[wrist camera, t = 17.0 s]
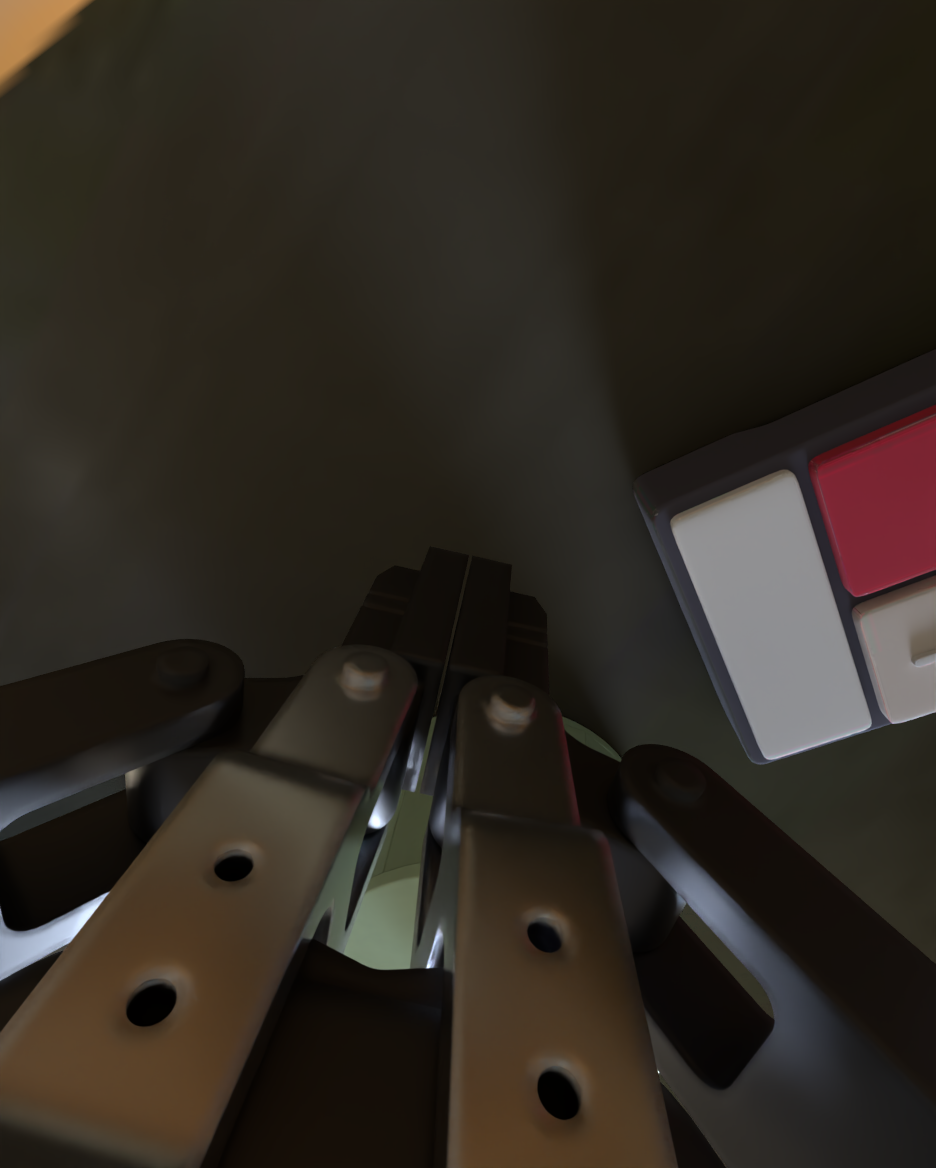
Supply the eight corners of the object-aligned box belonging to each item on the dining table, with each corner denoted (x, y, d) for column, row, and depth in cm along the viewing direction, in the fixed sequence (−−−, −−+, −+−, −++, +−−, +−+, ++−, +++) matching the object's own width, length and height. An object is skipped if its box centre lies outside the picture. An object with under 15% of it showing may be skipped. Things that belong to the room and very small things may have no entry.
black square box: (1267, 626, 19) (760, 785, 22) (1137, 568, 23) (723, 711, 26) (1262, 255, 15) (651, 520, 19) (1107, 262, 19) (627, 479, 22)
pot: (395, 924, 35) (354, 1105, 28) (353, 648, 27) (280, 795, 20) (627, 940, 34) (652, 1136, 26) (656, 653, 26) (703, 814, 18)
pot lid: (340, 1060, 27) (303, 1205, 23) (284, 831, 21) (220, 970, 17) (667, 1091, 26) (691, 1253, 21) (707, 853, 20) (752, 1012, 15)
